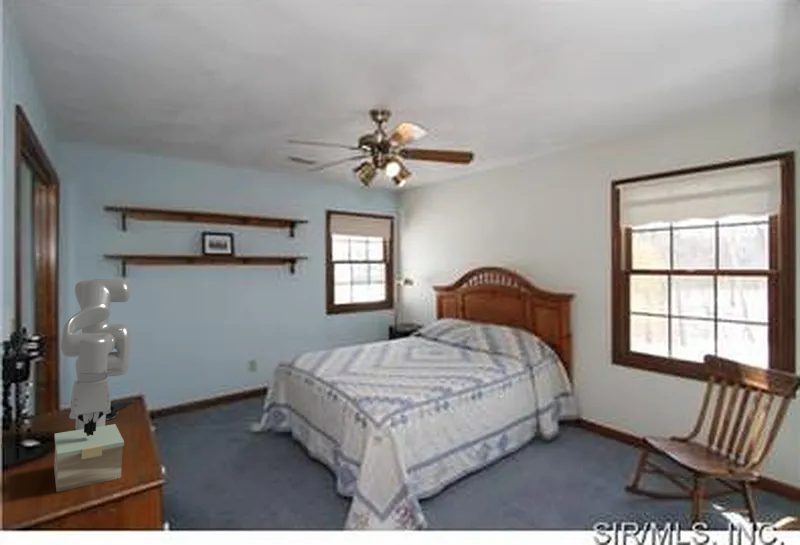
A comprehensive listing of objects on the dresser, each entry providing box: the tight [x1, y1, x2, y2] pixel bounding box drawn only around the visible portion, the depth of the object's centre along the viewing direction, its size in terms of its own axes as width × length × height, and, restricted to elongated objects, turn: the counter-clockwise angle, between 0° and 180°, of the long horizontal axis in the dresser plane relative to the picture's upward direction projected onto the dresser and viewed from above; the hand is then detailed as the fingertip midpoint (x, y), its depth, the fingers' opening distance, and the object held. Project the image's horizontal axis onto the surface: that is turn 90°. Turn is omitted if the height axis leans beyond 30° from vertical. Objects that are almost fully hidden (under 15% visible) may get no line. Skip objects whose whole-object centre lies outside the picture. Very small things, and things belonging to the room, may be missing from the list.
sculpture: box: [105, 400, 135, 421], centre depth 197 cm, size 9×30×6 cm, turn 14°
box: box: [53, 446, 124, 493], centre depth 140 cm, size 18×16×10 cm
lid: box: [54, 423, 125, 459], centre depth 140 cm, size 20×17×3 cm
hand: (89, 434), depth 139 cm, fingers closed
